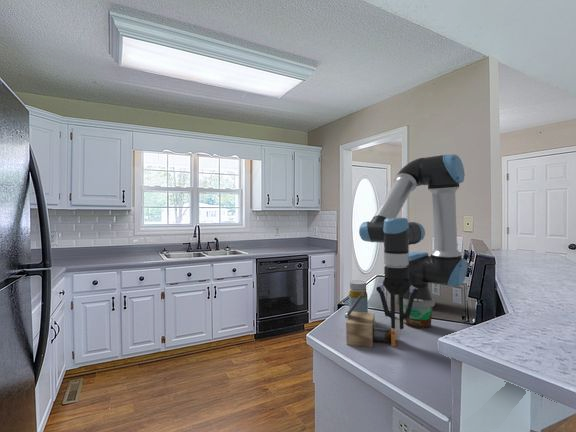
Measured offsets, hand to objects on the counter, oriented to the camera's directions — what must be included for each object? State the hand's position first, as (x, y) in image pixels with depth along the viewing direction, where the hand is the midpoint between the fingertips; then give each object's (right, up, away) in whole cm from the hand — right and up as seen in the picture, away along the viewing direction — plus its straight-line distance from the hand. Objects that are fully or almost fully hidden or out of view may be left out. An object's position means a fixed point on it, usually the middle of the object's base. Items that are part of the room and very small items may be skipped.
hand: (397, 338), depth 103 cm
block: (-11, -2, +4) cm, 12 cm away
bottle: (-8, -1, +21) cm, 22 cm away
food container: (+12, -1, +13) cm, 18 cm away
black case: (-7, -2, +2) cm, 7 cm away
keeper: (-12, +9, +4) cm, 16 cm away
